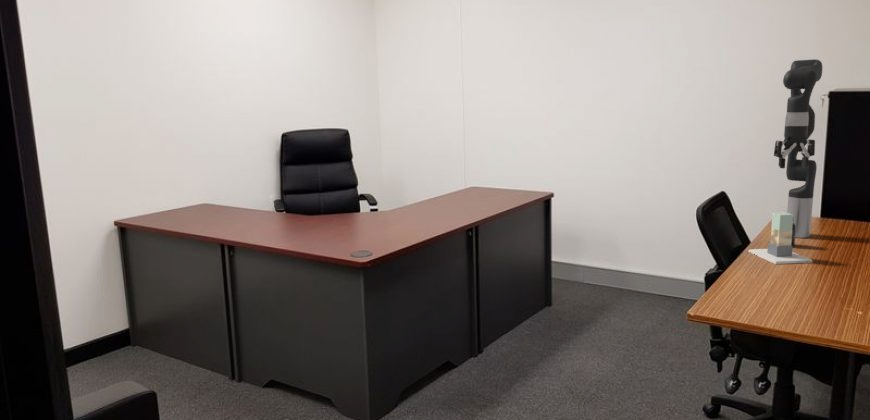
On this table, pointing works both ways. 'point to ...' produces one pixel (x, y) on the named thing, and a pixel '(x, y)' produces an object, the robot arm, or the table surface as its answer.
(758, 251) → the build plate
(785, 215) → the sage block
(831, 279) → the table surface
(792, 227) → the supplement bottle
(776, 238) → the birch block
